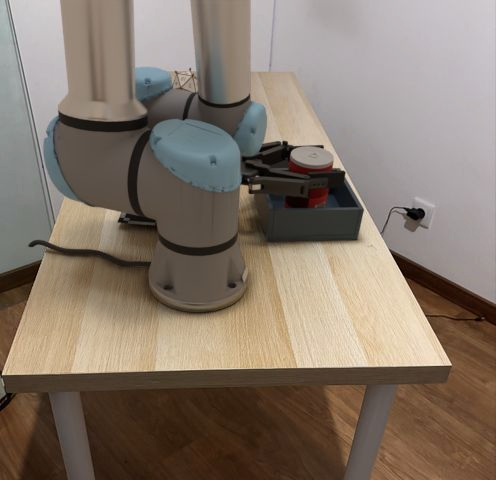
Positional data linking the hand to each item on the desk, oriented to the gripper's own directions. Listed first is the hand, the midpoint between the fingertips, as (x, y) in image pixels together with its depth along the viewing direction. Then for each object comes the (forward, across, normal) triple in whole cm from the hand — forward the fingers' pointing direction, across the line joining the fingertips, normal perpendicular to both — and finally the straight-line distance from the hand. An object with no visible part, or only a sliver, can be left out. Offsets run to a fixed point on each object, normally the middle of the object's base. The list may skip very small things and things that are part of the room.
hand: (332, 165), depth 95 cm
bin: (-4, 0, -10) cm, 11 cm away
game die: (-16, -65, -10) cm, 68 cm away
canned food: (-4, 0, -9) cm, 10 cm away
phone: (-2, -24, -10) cm, 26 cm away
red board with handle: (-29, -14, -10) cm, 34 cm away
